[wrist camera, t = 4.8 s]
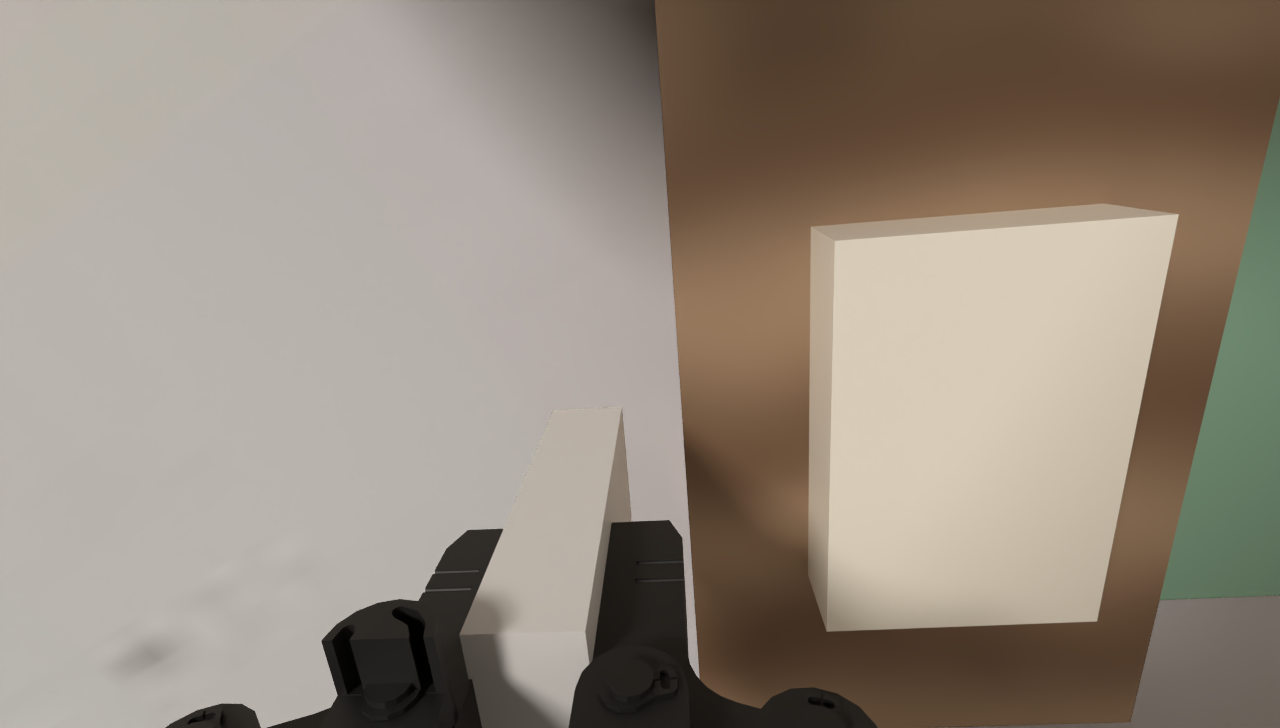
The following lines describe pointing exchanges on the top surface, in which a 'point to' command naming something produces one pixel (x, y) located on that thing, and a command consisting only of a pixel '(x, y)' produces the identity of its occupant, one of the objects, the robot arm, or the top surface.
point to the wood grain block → (919, 188)
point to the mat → (1239, 430)
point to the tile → (975, 411)
